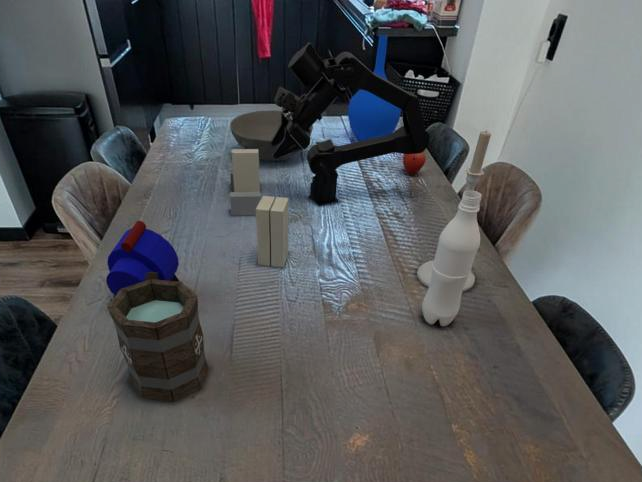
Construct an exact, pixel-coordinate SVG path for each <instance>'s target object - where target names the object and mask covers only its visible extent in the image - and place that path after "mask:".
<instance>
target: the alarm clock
mask: <svg viewBox="0 0 642 482" xmlns="http://www.w3.org/2000/svg"><path fill="white" fill-rule="evenodd" d="M106 263H107V268H108V271H109V272H108V274H107V275H106V278H105V282H106V286H107V288H108V290H109V291H110V293H112V295H113V298H114V297H115V296H116V295H117V293H118V292H119V290H120V289H122V288H125V287H128V286H131V285H134V284H137V283H140V282H143V281H145V275H146V273H148V272H157V273H158V276H159V280H167V281H178V282H181V281H180V280H179V278H178V276H177V275H176V272H177V271H178V268H179V265H180V264H179V263H180V262H179V256H178V254H177V251H176V249H175V248H174V247H173V245H172V244H171V243H170V242H169V241H168V240H167V239H166V238H165V237H164V236H163V235H161V234H159V233H158V232H156V231H154V230H151V229H148V228H147V225H146V223H145V222H144V221H142V220H137V221H136V222H135V223H134V225H133V226H132V227H131V228H130V229H127V230H126V231H125V232H124V233H123V235H122V236H121V238H119V240H118V242H117V243H116V245H115V246H114V247H113V249H112V250H111V252H110V254H109V255H108V256H107V262H106Z"/></svg>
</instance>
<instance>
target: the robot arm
mask: <svg viewBox="0 0 642 482" xmlns="http://www.w3.org/2000/svg"><path fill="white" fill-rule="evenodd" d="M287 66H288V69H289V70H290V71H291V72H292V73H293V75H294V76H295V77H296V79H297V80H298V81H299V82H300V84H301V85H302V86H303V88H304V87H305V88H307V87H310V88H311V89H310V90H309V91H308V92H307V94H306V93H303V94H301V95H300V97H299V96H298V95H297V94H295V93H294V92H291V91H290V90H288V89H286V88H284V87H282V86H279V87H278V89H277V92H276V95H275V97H274V99H273V100H274V104H275V105H276V106H277V107H280V108H281V111H283V113H284V114H283V113H282V112H281V124H280V126H279V128H278V130H277V132H276V134H275V136H274V138H273V139H272V141H271V145H272V146H275V145H277V144H279V143H280V145H279V146H278V148H277V149H276V151H275V152H274V154H273V157H274V158H275V159H277V158H279V157H282V156H284V155H287V154H290V153H292V152H295V151H298V150H301V151H303V150H304V151H305V150H306V149H307V148H308V147H309V149H308V151H307V153H306V162H307V164H308V166H309V170H310V171H311V173H312V174H313V176H312V177H311V182H310V190H309V191H310V192H309V193H310V194H308V198H309V199H310V200H311V201H313V203H315V204H316V205H318V206H325V205H330V204H334V203H338V202H339V198H337V186H338V178H339V174H338V171H337V169H339V168H341V166H343V165H346V164H351V163H355V162H359V161H363V160H367V159H372V158H377V157H381V156H385V155H389V154H394V153H396V154H403V155H404V154H419V153H424V152H425V151H426V150H427V148H428V146H429V144H430V141H431V137H430V133H429V132H428V131H427V130H426V125H425V122H424V121H425V120H424V118H423V114H422V109H421V102H420V99H419V97H417V96H416V95H415V94H414V93H413V92H409V91H407V90H405V89H403V88H401V87H400V86H398V85H396V84H395V83H393V82H391V81H390V80H388V79H387V80H388V81H387V80H385V79H384V78H382V77H380V76H378V75H376V74H375V73H373V72H374V71H372V70H371V69H369V68H368V67H367V66H366V65H365V64H364V63H362V61H360V60H359V59H358V58H357V57H356V56H355V55H353V53H351V52H350V51H349V52H348V51H343V52H341V53H339V54H338V55H337V56H336V57H332V58H327V59H322V58H321V56H320V55H319V54H318V53H317V51H316V49H315V48H314V46H313V45H312V43H311V42H307V43H306V45H305V46H303V47H301V49H299V51H296V53H295V54H294V55H293V57H292V58H291V59H290V61H289V63H288V65H287ZM324 71H325V73H326V74H327V75H328V77H329V78H331V79H329V78H328V77H327V76H326V74H325V73H324ZM336 80H338V82H339V83H340V84H341V85H342V86H344V87H341V86H340V85H339V83H338V82H337V81H336ZM346 87H348V88H352V89H355V90H365V91H368V92H370V93H372V94H374V95H376V96H377V97H379V98H381V99H383V100H385V101H387V102H389V103H390V104H392V105H394V106H396V107H398V108H400V109H401V115H402V117H401V118H402V124H403V125H401V126H400V127H399V128H397V129H395V130H394V132H393V133H391V134H388V135H384V136H380V137H376V138H371V139H367V140H363V141H358V140H357V141H356V142H349V143H346V144H341V145H336V144H334V143H333V140H332V139H331V138H329V139H326V140H324V141H316V142H315V144H314V145H312V146H310V145H311V135H310V136H309V134H308V133H309V132H310V127H311V126H312V125H314V124H315V123H316V122H317V121H321V120H322V119H323V115H324V113H325V112H326V111H327V110H328V109H329V108H330V107H331V106H332V105H333V103H334V102H335V101H336V100H337V99H339V100H340V102H341V103H342V104H346V102H347V101H346V97H347V92H348V91H347V89H346Z"/></svg>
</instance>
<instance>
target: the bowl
mask: <svg viewBox="0 0 642 482" xmlns="http://www.w3.org/2000/svg"><path fill="white" fill-rule="evenodd" d="M281 112H282V113H283V111H282V110H256V111H251V112H245V113H243V114H240V115H237V116H236V117H234V118H233V119H232V120H231V121H230V124H229V129H230V132H231V134H232V136H233V138H234V140H235V141H236V143H237V144H238V145H239V146H240V147H241V149H258V152H259V160H264V161H268V162H281V161H284V160H288V159H290V158H292V157H295V156H296V155H297V154H299V153H300V152H302V150H298V151H295V152H292V153H290V154H287V155H284V156H282V157H279V158H277V159H275V158H274V157H273V154H274V152H275V151H276V149H277V148H278V146H279V145H280V143H279V144H277V145H275V146H272V145H271V141H272V139H273V138H274V136H275V134H276V132H277V130H278V128H279V126H280V124H281ZM283 114H284V113H283ZM313 125H314V124H313ZM313 125H312V126H311V127H310V132H309V133H308V134H309V136H310V137H311V135H312V132H313V128H314V126H313Z"/></svg>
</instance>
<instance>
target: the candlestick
mask: <svg viewBox="0 0 642 482" xmlns="http://www.w3.org/2000/svg"><path fill="white" fill-rule="evenodd" d="M491 137H492V133H491V132H489V131H488V130H487V129H486V130H485V131H479V135H478V139H477V142H476V145H475V150H474V153H473V157H472V161H471V164H470V168H466V169H465V170H464V171H465V173H466V177H465V181H466V187H465V189H464V190H463V193H464V192H465V191H475V189H476V186H477V184H478V183H480V182H481V181H480V180H481V177H482V176H483V175H485V171H484V170H482V167H483V164H484V161H485V157H486V154H487V151H488V147H489V143H490V139H491ZM461 201H462V199H461V200H460V202H461ZM458 210H459V208H458V209H457V211H458ZM433 263H434V259H432V260H429V261H426V262H424V263H422V264H421V265H420V266H419V267H418V269H417V272H416V276H417V279H418V281H419V282H420V283H421V284H423V285H424V286H426V287H427V288H429V285H430V281H431V276H432V265H433ZM475 282H476V277H475V275H474V273H473V271H471V273H470V274H469V276H468V278H467V280H466V282H465V285H464V288H463V291H462V293H463V292H466V291H469V290H470V289H471V288H473V286H474V284H475Z"/></svg>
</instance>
